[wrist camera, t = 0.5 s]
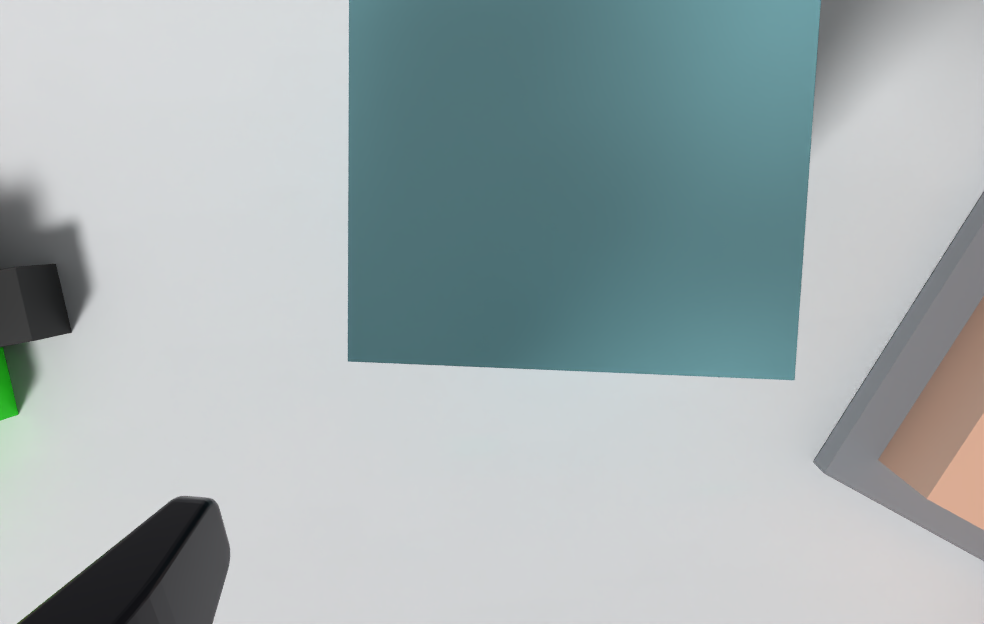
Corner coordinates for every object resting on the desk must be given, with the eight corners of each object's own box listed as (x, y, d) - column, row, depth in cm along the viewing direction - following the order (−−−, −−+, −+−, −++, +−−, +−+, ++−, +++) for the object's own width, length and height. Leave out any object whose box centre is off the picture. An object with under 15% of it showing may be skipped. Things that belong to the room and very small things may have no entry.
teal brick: (677, 293, 23) (794, 380, 11) (462, 286, 23) (348, 361, 11) (689, 71, 22) (827, -100, 10) (466, 69, 22) (349, -96, 11)
